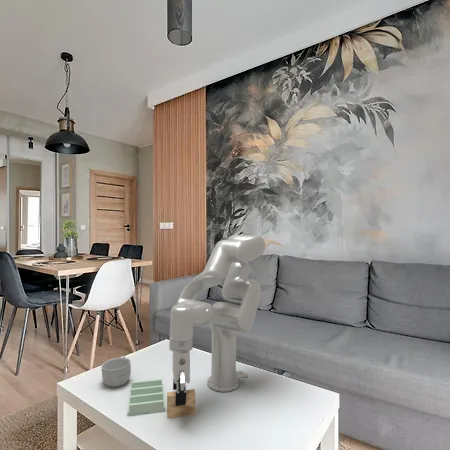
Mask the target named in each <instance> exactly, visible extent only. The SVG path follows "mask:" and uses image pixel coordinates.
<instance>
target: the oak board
mask: <svg viewBox="0 0 450 450" xmlns="http://www.w3.org/2000/svg"><path fill="white" fill-rule="evenodd" d="M176 392H177V390H173V391H169V392H168V391H167V392H166V417H167V419H171V418H172V419H173V418H178V417H185V416H186V417H187V416H192V415H193V416H194V415H196V389H195V388H192V389H186V405H180V406H176V405H175V401H176Z"/></svg>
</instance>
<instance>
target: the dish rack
mask: <svg viewBox="0 0 450 450" xmlns="http://www.w3.org/2000/svg"><path fill="white" fill-rule="evenodd" d="M128 395H129V397H128V404H127V406H128V407H127V416H128V417H129V415H130V416H136V415H143V414H152V413H153V414H154V413H160V412H166V400H165V389H164V384H163V379H162V378H155V379H148V380H138V381H131V387H130V388H129V394H128Z"/></svg>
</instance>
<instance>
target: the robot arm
mask: <svg viewBox="0 0 450 450" xmlns="http://www.w3.org/2000/svg"><path fill="white" fill-rule="evenodd" d="M265 249H266V240H265V239H264V238H263V237H262V236H260V235H252V234H251V235H250V234H232V235H230V236H229V237H228V238H227V239H223V240H219V241H217V242H216V243H215V245H214V247H213V250H212V252H211V254H210V257H209V258H208V261H207V263H206V264H205V267H204V269H203V271H201V272H200V273H199V274H198V275H196V276H195V277H194V278H193V279H191V280H190V281H189V282H188V283H187V284H186V285H185V286H184V288H183V289H182V291H181V293H180V295H179V297H178V299H177V301H176V304H174V305H173V306H172V307H171V309H170V320H169V321H170V323H169V324H170V325H169V342H168V343H169V345H168V346H169V347H168V348H169V351H171V352H172V363H171V364H172V365H171V367H172V375H173V378H172V379H173V380H172V381H173V382H172V384H173V385H172V390H173V391H177V392H176V401H175V405H176V406H180V405H186V390H187V386H186V385H187V384H190V383H191V353H190V351H192V350H193V345H194V344H193V343H194V342H193V338H194V327H199V326H206V325H208V324H209V323H210V330H211V369H210V370H211V371H210V372H211V373H210V374H211V375H210V376H209V377H208V378H207V386H208V387H209V388H210V390H212V391H216V392H220V393H222V392H223V393H225V392H228V393H229V392H232V391H234V390H237V389H238V388H239V387H240V383H241V382H240V381H241V379H248V378H249V377H248V376H249V375H248V374H249V373H248V372H243V370H239V371H237V368H236V367H237V336H236V333H235V332H240V333H247V332H249V330H251V328H252V326H253V324H254V321H255V317H256V313H257V311H258V307H259V305H260V299H261V295H262V287H261V285H260V283H259V282H258V281H256V280H255V279H250V278H249V275H250V271H251V269H250V264H249V262H251V261H253V260H255V259H258V258H259V257H261V256H262V255H263V254H264V252H265ZM220 284H223V286H222V288H221V295H222V297H223V298H224V299H225V300H228V301H232V302H235V303H236V304H235V303H231V302H226V301H217V302H215V303H213V304H212V305H211V304H210V303H208V302H205V301H200V300H195V299H196V297H197V296H199V294H200V293H201V292H202V293H203V291H205V290H208V289H209V288H213V287H216V286H218V285H220ZM237 303H239V304H237ZM240 303H241V304H240Z"/></svg>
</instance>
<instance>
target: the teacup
mask: <svg viewBox="0 0 450 450" xmlns="http://www.w3.org/2000/svg"><path fill="white" fill-rule="evenodd" d="M131 363H132V360H131V359H130V358H128V357H126V356H125V355H121V356H120V357H115V358H111V359H108V360H106V361H104V362H103V363H101V367H100V368H101V378H102V382H103V383H104V384H105V385H106V386H108V387H110V388H119V387H122V386H123V385H125V384H126V383H127V382H128V380H129V379H130V377H131V371H132V369H131V368H132V367H131Z"/></svg>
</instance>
